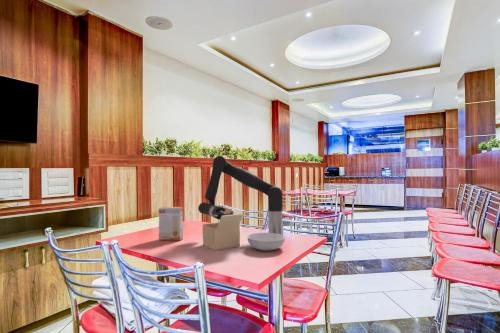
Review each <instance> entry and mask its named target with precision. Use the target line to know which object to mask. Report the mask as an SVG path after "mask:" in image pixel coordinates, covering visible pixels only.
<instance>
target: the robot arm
mask: <svg viewBox="0 0 500 333" xmlns="http://www.w3.org/2000/svg"><path fill="white" fill-rule="evenodd" d="M211 168H212V169H211V175H210V178H209V180H208V181H209V182H208V184H207V187H206V191H205V195H204V199H205V200H207V201H208V203H207V202H201V203H200V204H199V205H198V207H197V209H198V212H199V213H201V214H202V215H203V214H204V215H207V216H210V217H212V218H214V219H217V220H219V221H220V219H221V216H223V215H233V214H234V211H230V212H229V211H227V210H226V208H225V207H223V206H219V205H216V197H217V193H218V190H219V185H220V180H221V177H222V173H224V174H226V175H228V176H230V177H231V178H233V179H234V180H236V181H237V182H239V183H241V184H242V185H244V186H246V187H248V188H250V189H254V190H256V191H259V192H261V193H263V194H264V195H266V196H267V206H268V207H267V208H268V210H267V212H268V215H267V216H268V221H267V223H268V233H275V234H280V235H283V236H284V221H283V191H282V189H281V188H280V187H278V186H276V185H273V184H271V183H269V182H267V181H265V180H263V178H261V177H259V176H257V175H255V174H254V173H253V172H251V171H249V170H247V169H244V168H241V167H237V166H236V165H233V164H232V163H230V162H228V161H227V159H226V158H225V157H224V156H222V155H216V156H215V157H214V158H213V162H212V167H211Z"/></svg>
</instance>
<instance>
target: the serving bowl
mask: <svg viewBox="0 0 500 333" xmlns="http://www.w3.org/2000/svg"><path fill="white" fill-rule="evenodd" d="M285 239H286V238H285V236H284V234H283V235H280V234H275V233H269V232H256V233H251V234H249V235H247V242H248V244H249V245H250V246H251V247H252V248H253V249H257V250H259V251H264V252H266V251H267V252H269V251H273V250H277V249H279V248H281V247H282V246H283V244H284V242H285Z"/></svg>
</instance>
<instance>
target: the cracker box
mask: <svg viewBox="0 0 500 333" xmlns="http://www.w3.org/2000/svg"><path fill="white" fill-rule="evenodd" d="M183 210H184V209H183V206H162V207H159V208H158V241H160V242H161V241H162V242H163V241H169V242H170V241H176V242H179V241H181V240H183V239H184V226H183V225H184V223H183V222H184V219H183V217H184V214H183Z"/></svg>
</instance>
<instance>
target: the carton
mask: <svg viewBox="0 0 500 333" xmlns="http://www.w3.org/2000/svg"><path fill="white" fill-rule="evenodd" d="M218 223H219V221H218V222H211V223H205V224H202V244H203V246H205V247H206V248H208V249H210V250H212V251H214V252H217V251H222V250H226V249H227V250H228V249H233V248H238V247H240V246H241V240H240V239H241V237H240V236H241V232H240V230H241V228H240V226H241V225H240V224H239V226H236V227H229V228H221V229H217V226H218Z"/></svg>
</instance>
